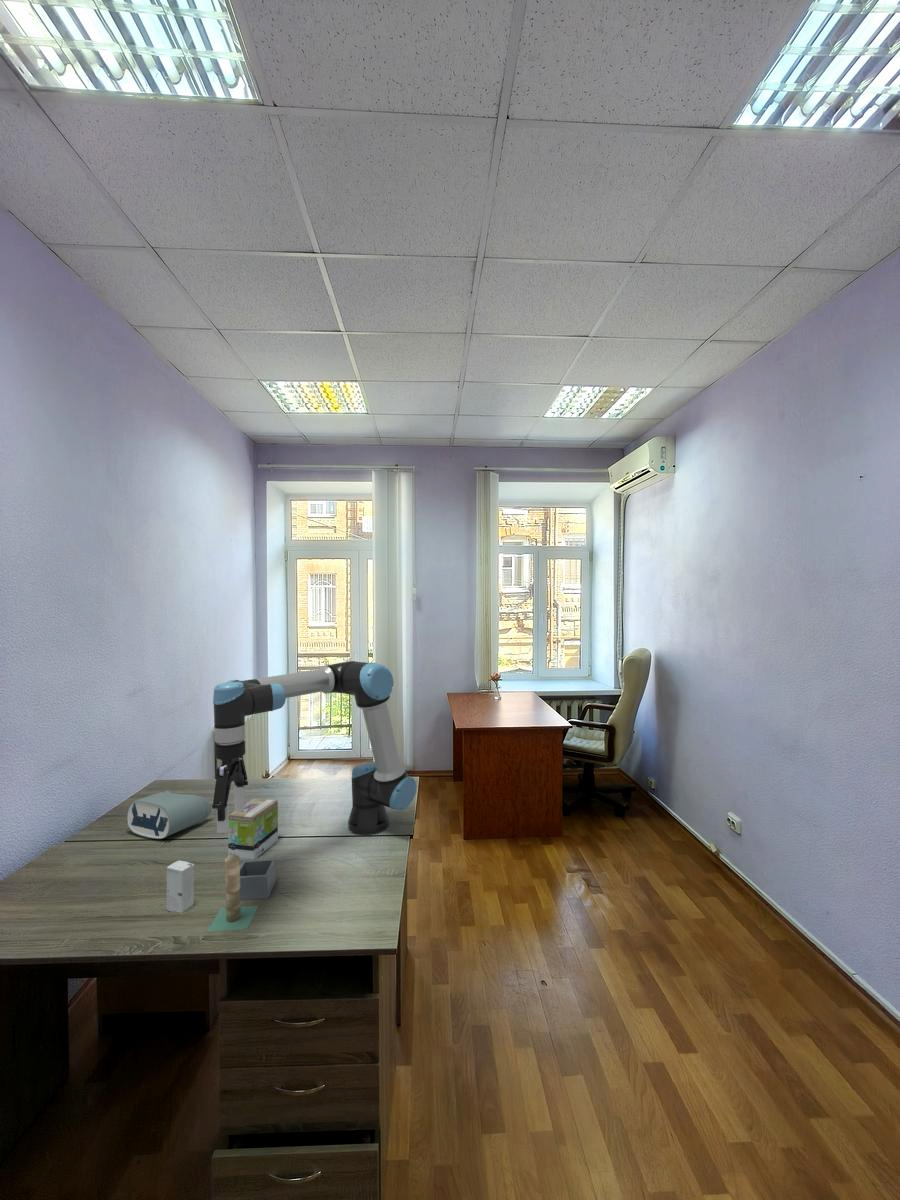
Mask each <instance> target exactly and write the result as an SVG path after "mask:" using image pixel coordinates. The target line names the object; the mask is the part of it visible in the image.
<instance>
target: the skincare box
mask: <svg viewBox="0 0 900 1200" xmlns="http://www.w3.org/2000/svg"><path fill="white" fill-rule="evenodd" d="M194 901H195V864H194V863H191V862H188V861H183V860H177V861H175V862H173V863H171V864H170V865H168V866H167V867H166V911H167V912H171V913H173V912H176V913H181V914H182V913H184V912H185V911H187V910H188V909H190V908H192V907H193V906H194V904H195V902H194Z"/></svg>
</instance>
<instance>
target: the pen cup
mask: <svg viewBox="0 0 900 1200" xmlns="http://www.w3.org/2000/svg"><path fill="white" fill-rule="evenodd" d="M276 881H277V859H276V858H271V859H270V858H269V859H254V860H252V859H250V860H243V861H241V863H240V901H241V902H242V901H251V900H252V901H253V900H254V901H255V900H266V899H267V900H268V899H269V898H270V895H271V892H272V891H273V888H274V886H275V884H276Z"/></svg>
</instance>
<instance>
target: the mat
mask: <svg viewBox="0 0 900 1200" xmlns="http://www.w3.org/2000/svg"><path fill="white" fill-rule="evenodd" d="M258 907H259V905H250V906H241V918H240V919H239V920H237V921H235V922H227V921H226V907H221V908H220V909H219V911H218V912H217V914H216V916H215V917H214V919H213V920H212V922H211V924H210V926H209V928H207V929H208V930H207V933H211V932H221V931H222V932H223V931H237V930H248V928H249V926H250V924H251V922H252V920H253V918H254V915H255V914H256V912H257V910H258Z"/></svg>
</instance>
